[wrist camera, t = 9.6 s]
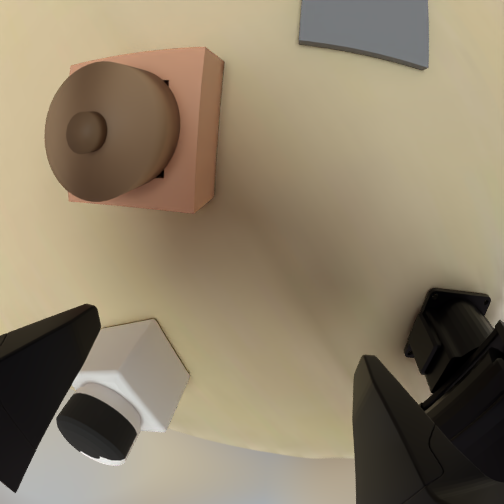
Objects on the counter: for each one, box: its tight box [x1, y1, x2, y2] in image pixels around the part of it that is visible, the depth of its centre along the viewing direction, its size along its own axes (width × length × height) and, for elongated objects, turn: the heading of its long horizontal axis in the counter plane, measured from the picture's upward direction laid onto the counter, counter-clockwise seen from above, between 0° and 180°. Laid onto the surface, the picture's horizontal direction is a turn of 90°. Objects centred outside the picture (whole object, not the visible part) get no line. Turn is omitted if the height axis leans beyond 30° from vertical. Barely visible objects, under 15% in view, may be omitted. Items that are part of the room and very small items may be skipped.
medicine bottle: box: [56, 319, 190, 466], centre depth 21 cm, size 7×7×12 cm
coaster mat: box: [299, 0, 429, 70], centre depth 13 cm, size 8×8×1 cm
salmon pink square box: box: [68, 47, 224, 214], centre depth 17 cm, size 9×9×4 cm
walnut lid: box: [45, 61, 180, 202], centre depth 13 cm, size 7×7×4 cm
